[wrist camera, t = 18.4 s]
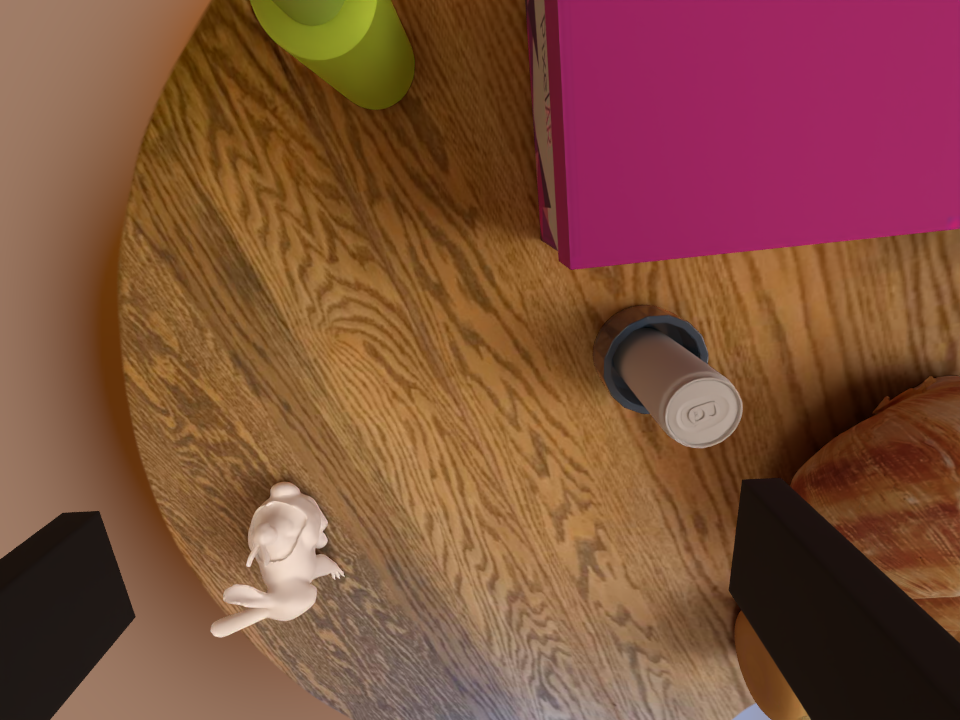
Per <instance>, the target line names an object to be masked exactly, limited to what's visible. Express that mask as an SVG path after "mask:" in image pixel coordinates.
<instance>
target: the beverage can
mask: <svg viewBox="0 0 960 720" xmlns="http://www.w3.org/2000/svg"><path fill="white" fill-rule="evenodd" d="M613 361H614V367H615V369H616V371H617V373H618V374H619V375H620V376H621V378H622V379H623V380H624V381H625V383H626V384H627V385H628V386H629V388H630V389H631V390H632V391H633V393H634V394H635V395H636V397H637V398H638V399H639V400H640V402H641V403H642V404H643V405H644V407H645V408H646V409H647V410H648V412H649V413H650V414H651V415H652V417H653V418H654V419H655V420H656V422H657V423H658V424H659V425H660V427H661V428H662V429H663V430H664V431H665V432H666V433H667V434H668V436H669V437H671V438H673V439H674V440H675V441H677V442H679V443H680V444H682V445H684V446H688V447H691V448H705V447H710V446H714V445H716V444H718V443H720V442H722V441H723V440H725V439H726V438H727V437H729V436H730V435H731V434H732V433H733V431H734V430H735V429H736V428H737V426H738V424H739V422H740V420H741V416H742V411H743V408H742V400H741V397H740V395H739V393H738V391H737V390H736V389H735V387H734V386H733V384H732V383H731V382H730V381H729V380H728V379H727V378H726V377H724V376H723V375H722V374H720V373H719V372H717V371H716V370H715V369H713V368H712V367H710V366H709V365H708V364H706V363H705V362H703V361H702V360H701V359H699V358H698V357H696V356H695V355H694V354H692V353H691V352H689V351H688V350H687V349H685V348H684V347H682V346H681V345H680V344H678V343H677V342H675V341H674V340H672V339H671V338H669V337H668V336H666V335H665V334H663V333H662V332H660V331H658V330H655V329H651V328H639V329H637V330H634V331H632V332H631V333H630V334H629V335H628V336H627V337H626V338H625V339H624V340H623V341H622V342H621V343H620V344H619V346H618V348H617V350H616V352H615V354H614V357H613Z"/></svg>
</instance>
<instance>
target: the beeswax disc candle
mask: <svg viewBox="0 0 960 720" xmlns="http://www.w3.org/2000/svg"><path fill="white" fill-rule="evenodd" d="M735 647H736V653H737V658H738V662H739V665H740V669H741V672H742V675H743V677H744V680H745V682H746V685H747V687H748V689H749V691H750V693H751V695H752V697H753V699H754V700H755V702H756V703H757V705H758V706H759V707H760V709H761V710H762V711H763V712H764V713H765V714H766V715H767V716H768V717H769V718H770V719H771V720H811V719H810V717H809V716H808V714H807V713H806V711H805V709H804V708H803V706H802V705H801V703H800V702H799V700H798V698H797V697H796V695H795V694H794V692H793V691H792V689H791V687H790V686H789V684H788V683H787V681H786V680H785V678H784V676H783V675H782V673H781V672H780V670H779V669H778V667H777V665H776V664H775V662H774V661H773V659H772V658H771V656H770V654H769V653H768V651H767V650H766V648H765V647H764V645H763V643H762V642H761V640H760V639H759V637H758V636H757V634H756V633H755V631H754V629H753V628H752V626H751V625H750V623H749V622H748V620H747V618H746V617H745V615H744V614H743V612H742V611H740V613H739V614H738V616H737V619H736V623H735Z"/></svg>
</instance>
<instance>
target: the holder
mask: <svg viewBox="0 0 960 720" xmlns="http://www.w3.org/2000/svg"><path fill="white" fill-rule="evenodd" d="M639 328H651V329H655V330H658V331H660V332H662V333H663V334H665V335H666V336H668V337H669V338H671V339H672V340H674V341H675V342H677V343H678V344H680V345H681V346H682V347H684V348H685V349H687V350H688V351H689V352H691V353H692V354H694V355H695V356H696V357H698V358H699V359H701V360H702V361H703V362H705V363H706V364H708V351H707V348H706V345H705V342H704V339H703V337H702V335H701V334H700V333H699V332H698V331H697V330H696V329H695V328H694V327H693V326H692V325H691V324H690V323H689V322H687V321H686V320H684V319H682V318H681V317H679V316H677V315H675V314H674V313H672V312H670V311H667V310H665V309H662V308H660V307H657V306H651V305H638V306H633V307H629V308H626V309H624V310H622V311H620V312H618V313H616V314H615V315H613V316H612V317H611V318H610V319H609V320H608V321H607V322H606V323H605V324H604V325H603V326H602V328H601V329H600V331H599V333H598V335H597V337H596V339H595V342H594V347H593V362H594V366H595V369H596V371H597V373H598V375H599V377H600V379H601V381H602V383H603V384H604V386H605V387H606V389H607V390H608V392H609V393H610V395H611V396H612V397H613V398H614V399H615V400H617V401H618V402H619V403H620V404H621V405H622V406H623V407H625V408H627V409H630V410H633V411H636V412H639V413H642V414H650V413H649V412H648V410H647V409H646V408H645V407H644V405H643V404H642V403H641V402H640V400H639V399H638V398H637V397H636V395H635V394H634V393H633V391H632V390H631V389H630V388H629V386H628V385H627V384H626V383H625V381H624V380H623V379H622V378H621V376H620V375H619V374H618V373H617V371H616V369H615V367H614V361H613V357H614V354H615V352H616V350H617V348H618V346H619V344H620V343H621V342H622V341H623V340H624V339H625V338H626V337H627V336H628V335H629V334H630V333H631V332H632V331H634V330H637V329H639Z"/></svg>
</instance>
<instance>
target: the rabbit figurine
mask: <svg viewBox="0 0 960 720" xmlns="http://www.w3.org/2000/svg"><path fill="white" fill-rule="evenodd" d="M270 494H271V495H270V498H269V499H268V500H266V501H265V502H264V503H263V504H262V505H261V506H260V507H259V508H258V509H257V510H256V512H255V513H254V516H253V518H252V521H251V524H250V528H249V532H248V544H249V548H250V550H251V553H250V555H249V557H248V560H247V563H246V566H247V567H250V566H251V564H252V561H253V559H254V557H255V558H256V561H257V562H258V564H259V567H260V570H261V573H262V577H263V581H264V583H265V584H266V586H267V588H268V590H267V593H265V592H262V591H259V590H257V589H255V588H254V587H251V586H249V585H244V584H234V585H233V586H231V587H229V588H227V589H226V590H225V591H224V594H223V600H224V601H225V602H227V603H230V604H237V605H241V606H245V607H249V608H250V609H247V610H244V611H241V612H239V613H236V614H233V615H229V616H226V617H224V618H221V619H219V620H217V621H215V622H214V623H213V624H212V626H211V631H210V632H212V634H213V635H214V636H216V637H224V636H227V635H230V634H232V633H234V632H236V631H239V630H241V629H243V628H245V627H248V626H250V625H252V624H254V623H256V622H258V621H260V620H263V619H265V618H272V619H275V620H279V621H289V620H292V619H294V618H296V617H298V616H300V615H301V614H303V613H304V612H306V611H307V610H308V609H309V608H310V607H311V606H313V604H314V603H315V601H316V595H317V589H316V587H315V586H313V585H311V584H310V583H311V581H312V580H313V579H315V578H318V577H320V576H324V575H328V574H330V573H331V575H332V578H334V579H335V575H336V577H338V578H339V579H340V577H339V576H340V575H342V576H344V572H343V571H342V570H341V569H340V568H339V567H338V565H337V563H336V562H334V561H333V560H331V559H330V558H329V557H327V556H326V555H324V554H318V555H316V553H315V548H322V547H324V546H325V545H326V544H327V541H328V540H327V537H326V535H325V534H324V533H323V530H324V529H325V528H326V527H327V524H328V521H327V519H326V518H325V516H324V515H323V513H322V511H321V510H320V508H319V507H318V505H317V503H316V501H315V500H314V499H313V498H312V497H310V496H307V495H304V494H302V493H301V492H300V490H299V488H298V487H297V486H295V485H294V484H292V483H290V482H279V483H277V484H275V485H274V486H272V488H271V490H270ZM339 573H340V574H339ZM344 577H345V576H344Z"/></svg>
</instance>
